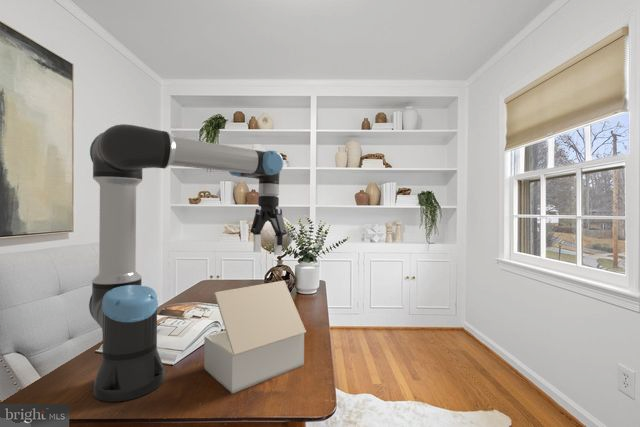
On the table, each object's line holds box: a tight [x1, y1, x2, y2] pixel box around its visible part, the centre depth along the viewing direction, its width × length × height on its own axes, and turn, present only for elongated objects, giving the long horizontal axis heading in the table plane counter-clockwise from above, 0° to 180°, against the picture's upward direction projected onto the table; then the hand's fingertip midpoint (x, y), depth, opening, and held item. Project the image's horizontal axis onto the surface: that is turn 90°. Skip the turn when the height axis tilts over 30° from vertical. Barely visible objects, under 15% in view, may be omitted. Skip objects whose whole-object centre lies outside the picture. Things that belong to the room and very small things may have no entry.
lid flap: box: [213, 280, 307, 355], centre depth 89 cm, size 22×16×1 cm
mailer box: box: [203, 330, 305, 394], centre depth 92 cm, size 22×16×9 cm
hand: (267, 253), depth 123 cm, fingers open, 13 cm apart
